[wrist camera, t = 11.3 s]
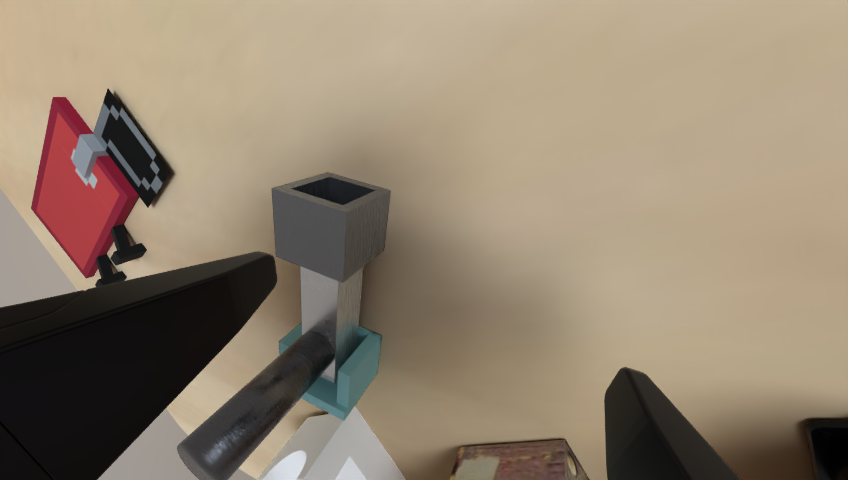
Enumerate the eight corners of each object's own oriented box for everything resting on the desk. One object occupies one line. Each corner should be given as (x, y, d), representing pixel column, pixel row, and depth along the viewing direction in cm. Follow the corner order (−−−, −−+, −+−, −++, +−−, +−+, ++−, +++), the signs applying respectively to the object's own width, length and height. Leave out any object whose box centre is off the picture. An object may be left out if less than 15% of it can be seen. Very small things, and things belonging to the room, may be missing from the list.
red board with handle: (193, 188, 29) (86, 40, 27) (159, 196, 26) (40, 34, 25) (116, 295, 44) (46, 205, 43) (90, 306, 42) (15, 211, 40)
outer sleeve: (327, 172, 22) (271, 188, 18) (390, 190, 21) (346, 212, 16) (326, 229, 24) (276, 256, 20) (383, 249, 23) (342, 283, 18)
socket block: (318, 308, 28) (274, 345, 24) (381, 335, 26) (346, 380, 22) (318, 345, 30) (277, 385, 26) (377, 373, 28) (344, 421, 24)
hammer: (329, 225, 22) (135, 325, 12) (365, 238, 22) (190, 356, 11) (326, 343, 28) (188, 483, 17) (355, 357, 27) (228, 512, 17)
